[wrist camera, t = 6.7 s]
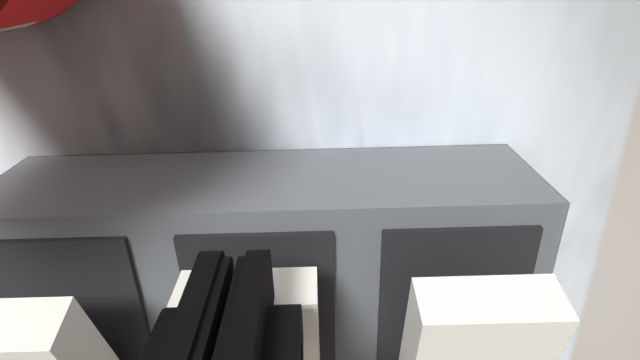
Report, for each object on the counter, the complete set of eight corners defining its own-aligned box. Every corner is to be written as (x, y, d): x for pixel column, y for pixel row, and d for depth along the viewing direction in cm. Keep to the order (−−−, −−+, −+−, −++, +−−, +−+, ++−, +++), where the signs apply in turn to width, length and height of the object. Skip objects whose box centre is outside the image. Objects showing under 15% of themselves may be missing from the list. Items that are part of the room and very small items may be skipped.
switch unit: (27, 156, 17) (-72, 223, 12) (506, 144, 17) (573, 206, 12) (89, 341, 21) (30, 440, 17) (475, 331, 21) (517, 427, 17)
